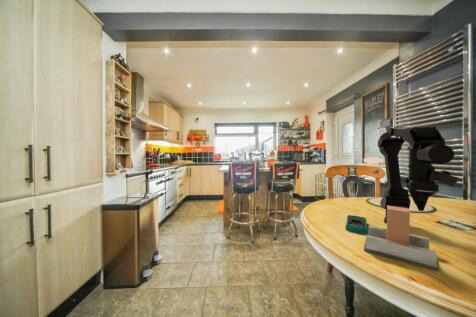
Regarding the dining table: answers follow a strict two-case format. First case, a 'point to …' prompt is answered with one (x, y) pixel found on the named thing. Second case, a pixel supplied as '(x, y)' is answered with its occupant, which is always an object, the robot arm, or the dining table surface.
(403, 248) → the bench vise
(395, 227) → the terracotta block
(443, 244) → the dining table surface
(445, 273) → the dining table surface
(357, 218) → the digital multimeter
